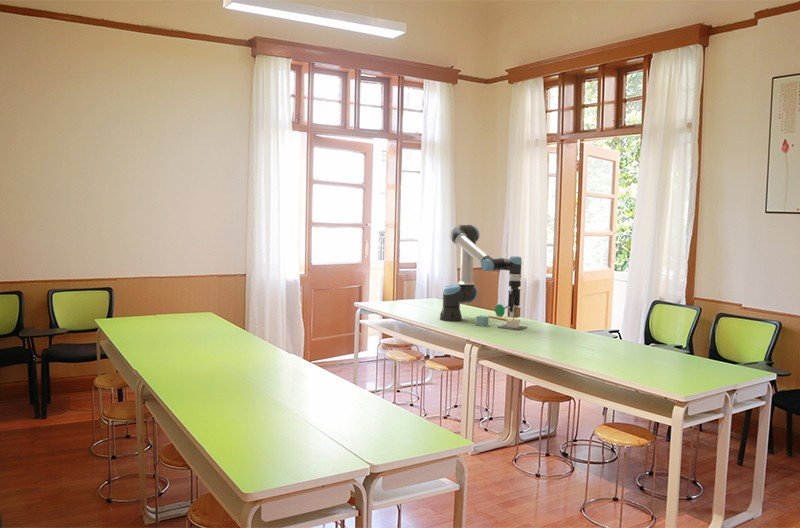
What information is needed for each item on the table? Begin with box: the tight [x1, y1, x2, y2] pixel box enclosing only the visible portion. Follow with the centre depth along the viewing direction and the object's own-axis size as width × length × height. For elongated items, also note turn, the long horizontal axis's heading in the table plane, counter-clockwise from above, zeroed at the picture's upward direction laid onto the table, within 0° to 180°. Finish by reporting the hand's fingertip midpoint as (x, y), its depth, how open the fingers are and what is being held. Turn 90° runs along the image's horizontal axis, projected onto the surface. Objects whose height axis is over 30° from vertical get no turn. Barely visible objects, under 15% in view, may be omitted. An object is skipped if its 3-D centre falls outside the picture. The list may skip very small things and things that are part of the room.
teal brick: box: [475, 315, 490, 327], centre depth 433 cm, size 6×6×6 cm
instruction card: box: [493, 322, 507, 326], centre depth 438 cm, size 10×7×1 cm
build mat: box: [498, 320, 528, 331], centre depth 427 cm, size 14×14×4 cm
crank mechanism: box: [488, 303, 521, 322], centre depth 458 cm, size 25×7×19 cm, turn 37°
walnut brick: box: [507, 306, 521, 319], centre depth 427 cm, size 6×5×6 cm
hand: (513, 316), depth 427 cm, fingers closed on walnut brick, 5 cm apart
